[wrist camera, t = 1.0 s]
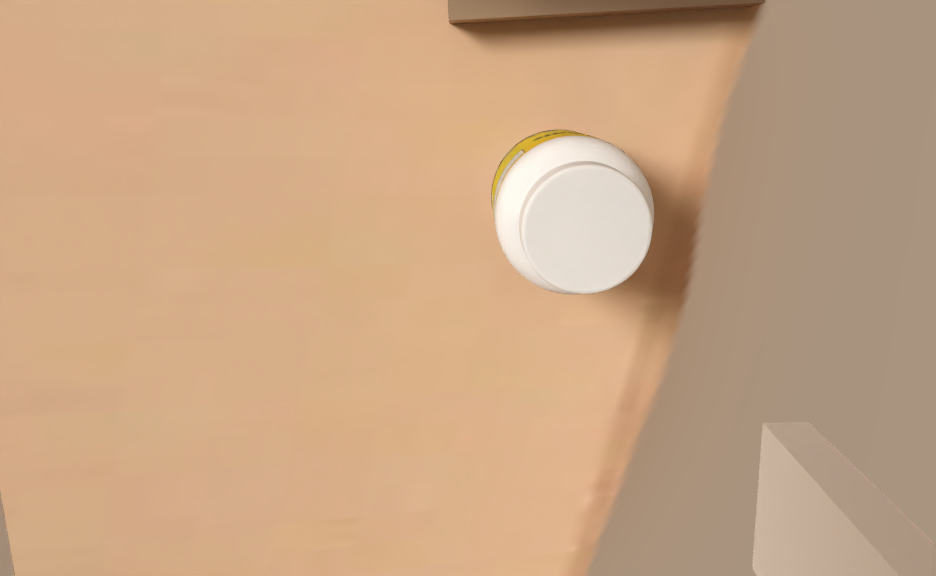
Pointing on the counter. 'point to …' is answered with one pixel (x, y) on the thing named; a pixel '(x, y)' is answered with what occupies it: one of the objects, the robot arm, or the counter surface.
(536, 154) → the supplement bottle
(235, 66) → the counter surface
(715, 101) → the counter surface
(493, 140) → the counter surface
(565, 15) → the mount board
